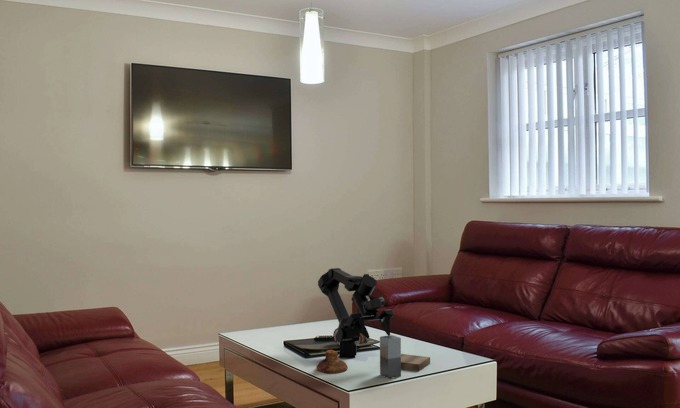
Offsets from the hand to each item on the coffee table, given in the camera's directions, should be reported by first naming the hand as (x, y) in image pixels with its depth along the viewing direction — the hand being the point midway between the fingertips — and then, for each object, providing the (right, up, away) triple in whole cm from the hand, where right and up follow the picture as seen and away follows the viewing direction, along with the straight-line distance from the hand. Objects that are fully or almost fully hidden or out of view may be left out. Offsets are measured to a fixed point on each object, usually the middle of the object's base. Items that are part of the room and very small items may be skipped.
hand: (379, 336), depth 235 cm
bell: (-18, -13, +2) cm, 22 cm away
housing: (+4, -13, -7) cm, 15 cm away
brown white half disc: (-11, -13, +40) cm, 43 cm away
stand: (+13, -13, +7) cm, 19 cm away
